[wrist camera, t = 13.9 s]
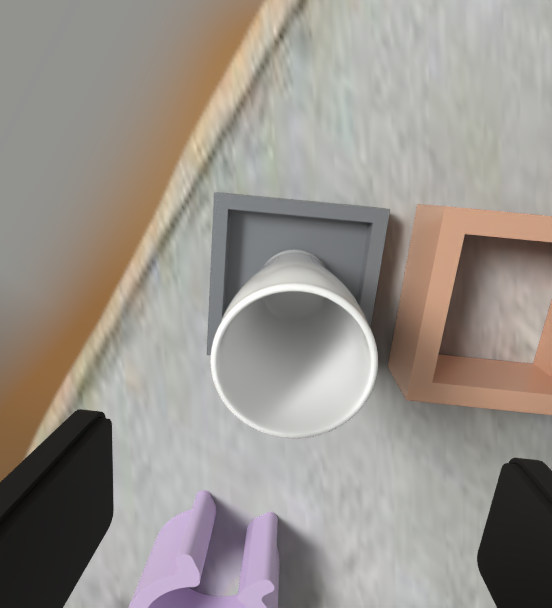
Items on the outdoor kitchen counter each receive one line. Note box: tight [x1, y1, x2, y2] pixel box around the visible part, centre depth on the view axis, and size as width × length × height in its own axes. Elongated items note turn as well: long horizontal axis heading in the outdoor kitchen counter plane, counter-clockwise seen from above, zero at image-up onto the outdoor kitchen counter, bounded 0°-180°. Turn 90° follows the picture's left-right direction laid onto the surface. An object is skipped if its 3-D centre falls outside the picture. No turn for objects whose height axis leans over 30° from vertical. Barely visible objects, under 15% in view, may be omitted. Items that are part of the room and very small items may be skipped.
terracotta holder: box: [388, 204, 552, 415], centre depth 28 cm, size 13×13×6 cm
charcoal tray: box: [207, 193, 390, 355], centre depth 29 cm, size 12×12×2 cm
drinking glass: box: [211, 249, 378, 439], centre depth 23 cm, size 7×7×15 cm
